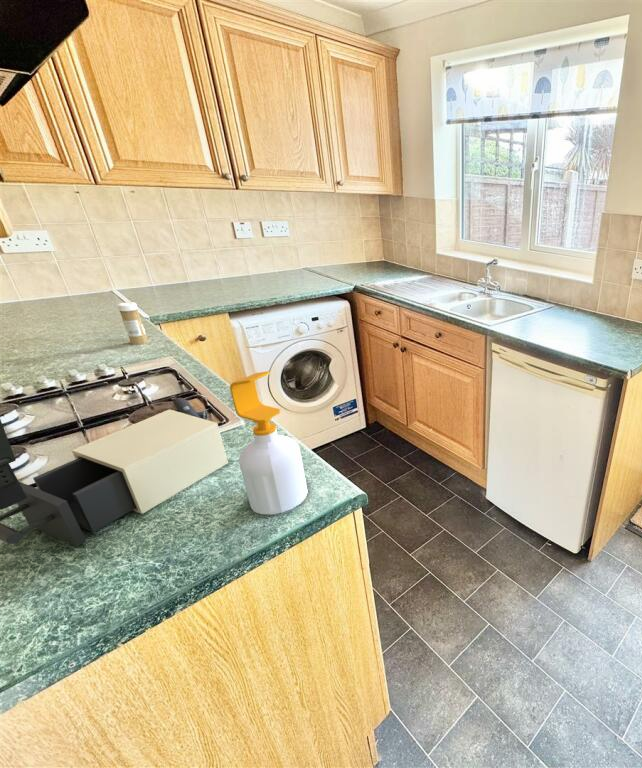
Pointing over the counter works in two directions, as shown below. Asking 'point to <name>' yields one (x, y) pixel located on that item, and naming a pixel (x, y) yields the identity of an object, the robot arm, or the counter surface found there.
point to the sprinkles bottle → (132, 323)
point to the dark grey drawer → (71, 501)
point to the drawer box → (159, 455)
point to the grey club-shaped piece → (188, 408)
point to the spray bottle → (267, 455)
